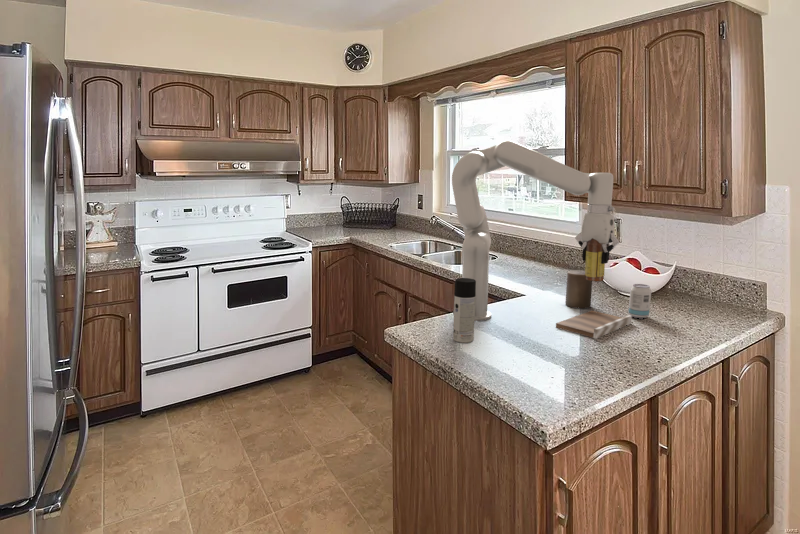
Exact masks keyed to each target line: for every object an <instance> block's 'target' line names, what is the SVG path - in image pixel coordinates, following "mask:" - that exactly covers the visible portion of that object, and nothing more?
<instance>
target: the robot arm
mask: <svg viewBox="0 0 800 534" xmlns="http://www.w3.org/2000/svg"><path fill="white" fill-rule="evenodd" d="M505 167H506V168H509V169H511V170H514V171H516V172H519V173H521V174H523V175H525V176H528V177H530V178H532V179H534V180H536V181H540V182H542V183H543V182H544V183H546V184H549V185H551V186H553V187H556V188H558V189H560V190H563V191H564V192H567V193H570V194H572V195H574V196H583V195H585V194H587V206H586V207H587V209H586V212H585V213H584V216H583V221H582V226H581V231H580V233H578V234H577V235H576V236H575V237H574V238H575V240H576V242H577V243H578V245H579V246H580V248H581V249H582V254H581V257H582V262H586V247H587V241H589V240H591V239H592V238H593V239H595V240H597V241H598V242H599V243H600V244H602V247H603V250H604V252H602V261H601V263H602V264H605V265H606V264H608V263H609V261H610V252H611V251H612V250H614V248H616V247H617V246H618V245H619V244H620V240H619V239H618V238H617V237H616V235H615V232H616V231H615V228H616V227H615V218H614V213H613V214H612V212H615V211H616V208H615V207H613V205H612V201H613V199H612V198H613V189H614V175H613V173H611V172H592V173H588V172H582V171H580V170H578V169H575V168H573V167H571V166H568V165H567V164H563V163H561V162H560V161H557V160H555V159H553V158H551V157H549V156H548V155H545V154H543V153H542V152H538V151H536V150H534V149H532V148H529V147H526V146H524V145H522V144H520V143H518V142H515V141H513V140H511V139H505V140H502V141H500V142H499V143H498V144H496V145H495V144H494V145H493V146H490V147H488V148H484V149H482V150H478V151H476V150H475V151H469V152H468V153H466V154H464V155H463V156H462V157H461V158H460V159H459V160H458V161H457V162H456V164H455V166H454V168H453V170H452V173H451V184H452V185H451V186H452V191H453V197H454V203H455V208H456V214H457V220H458V222H459V224H460V226H461V227H462V228H463V234H464V239H463V242H462V245H461V250H462V251H461V256H462V257H461V258H462V268H461V270H462V272H461V273H462V274H461V276H462V277H461V278H470V279H474V280H476V296H475V320H474V322H483V321H487V319H488V320H489V319H491V318H492V313H491V312H490V311H489V310H488V300H489V299H488V298H489V295H488V294H489V278H490V277H489V267H490V264H489V263H490V248H491V245H492V237H491V234H490V228H489V222H488V218H487V213H486V209H485V208H484V205H482V204H481V202H480V196H479V191H478V187H477V182H476V181H477V178H478V177H479V176H482V175H484V174H487V173H488V174H489V173H490V172H492V171H496V170H499V169H502V168H505ZM452 314H453V315H454V310H452Z"/></svg>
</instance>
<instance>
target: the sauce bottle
mask: <svg viewBox="0 0 800 534" xmlns="http://www.w3.org/2000/svg"><path fill="white" fill-rule="evenodd" d="M602 252H604V250H603V247H602V244H600V243H599V242H598V241H597V240H595V239H593V238H592V239H591V240H589V241H587V247H586V261H585V266H584V267H585V268H584V271H585V278H586V280H588V281H592V282H602V281H604V278H605V277H604V276H605V269H606V268H605V266H606V263H605V264H602V263H601V261H602Z"/></svg>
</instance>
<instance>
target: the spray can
mask: <svg viewBox="0 0 800 534" xmlns="http://www.w3.org/2000/svg"><path fill="white" fill-rule="evenodd" d="M475 296H476V280H474V279H470V278H462V277H458V278H456V279H455V280H454V297H453V301H454V302H453V311H454V314H453V328H452V329H453V330H452V331H453V332H452V335H453V337H452V338H453V341H454V342H455V343H459V344H468V343H469V342H470V343H473V341H474V339H475V321H474V320H475ZM470 343H469V344H470Z"/></svg>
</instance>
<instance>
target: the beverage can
mask: <svg viewBox="0 0 800 534" xmlns="http://www.w3.org/2000/svg"><path fill="white" fill-rule="evenodd" d="M650 287H651V286H650V285H648V284H643V283H634V284H633V285H632V287H631V288H630V293H629V301H628V303H629V304H628V312H627V313H628V315H631V316H632V318H633V317H634V319H636V318H639V320H644V319H643V318H645V319H646V318H648V317H649V316H650V310H651V309H650V308H651V301H652V300H651V298H652V289H651V288H650Z"/></svg>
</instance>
